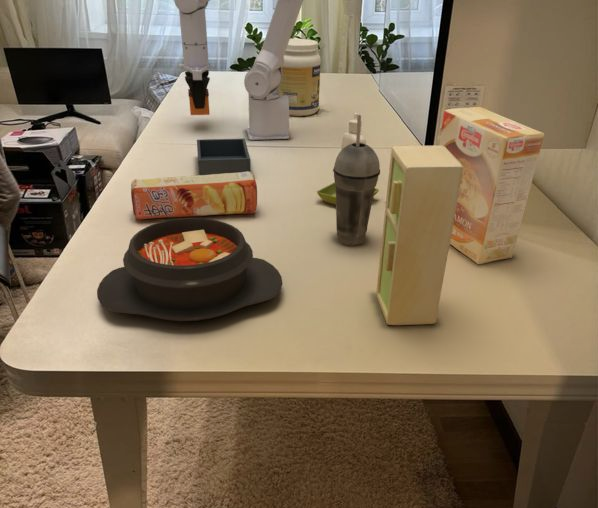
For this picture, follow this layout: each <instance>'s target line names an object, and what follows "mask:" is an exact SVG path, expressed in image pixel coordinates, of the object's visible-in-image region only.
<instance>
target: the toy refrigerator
mask: <svg viewBox="0 0 598 508" xmlns="http://www.w3.org/2000/svg"><path fill="white" fill-rule="evenodd" d="M388 168H389V169H388V179H387V187H386V196H385V198H386V199H385V206H384V207H385V209H384V217H383V225H382V227H383V228H382V235H381V243H380V254H379V262H378V274H377V283H376V291H375V292H376V293H375V296H376V299H377V301H378V304H379V307H380V310H381V312H382V315H383V317H384V320H385V323H386V325H388V326H410V325H411V326H412V325H433V324H436V322H437V317H438V312H439V306H440V301H441V295H442V294H441V293H442V289H443V285H444V284H443V283H444V278H445V272H446V267H447V262H448V255H449V250H450V246H451V244H450V239H451V234H452V228H453V223H454V217H455V212H456V206H457V200H458V195H459V189H460V183H461V178H462V172H463V167H462V165H461V163H460V162H459V161H458V160H457V159H456V158H455V157H454V156H453V155H452V154H451V153H450V152H449V151H448V150H447V148H446V147H444V146H439V145H394V146H392V147H391V150H390V159H389V167H388Z"/></svg>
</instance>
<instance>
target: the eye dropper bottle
mask: <svg viewBox="0 0 598 508" xmlns="http://www.w3.org/2000/svg"><path fill="white" fill-rule="evenodd" d="M358 115H359V113H357V112H354V113H353V116H352V119H350V120H348V131H345V132H344V133H343V135H342V140H341V150H342V149H343V148H344V147H346V146H347V145H349V144H352V143H356V136H357V118H358ZM361 124H362V120H361ZM360 143H363V144H366V145H367V142H366V138H365V135H363V133H362V125H361V126H360Z"/></svg>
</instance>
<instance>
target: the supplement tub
mask: <svg viewBox="0 0 598 508" xmlns="http://www.w3.org/2000/svg"><path fill="white" fill-rule="evenodd" d="M318 51H319V42H318V41H316V40H313V39H307V38H290V40H289V42H288V45H287V48H286V51H285V54H284V65H283V68H282V76H283V77H282V82H281V84H280V86H279V87H278V90H279V93H280V96H287V97H288V101H289V116H292V117H304V116H305V117H306V116H310V115H313V114H316V112H318V111H319V108H320V87H321V66H322V65H321V64H322V60H321V59H322V58H321V56H320V54H319V53H318Z"/></svg>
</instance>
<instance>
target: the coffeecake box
mask: <svg viewBox="0 0 598 508" xmlns="http://www.w3.org/2000/svg"><path fill="white" fill-rule="evenodd" d="M544 137H545V133H544V132H542V131H539V130H536V129H534V128H532V127H529V126H527V125H525V124H522V123H520V122H517V121H515V120H512V119H510V118H508V117H505V116H503V115H501V114H498V113H496V112H494V111H490V110H488V109H486V108H484V107H481V106H473V107H454V108H448V109H444V111H443V117H442V123H441V130H440V136H439V143H438V146H444V147H446V148H447V150H448V151H449V152H450V153H451V154H452V155H453V156H454V157H455V158H456V159H457V160H458V161H459V162H460V163H461V165H462V167H463V172H462V178H461V183H460V189H459V195H458V200H457V206H456V212H455V217H454V223H453V228H452V234H451V239H450V246H452V247H453V248H455V249H456V250H458V251H459V252H460V253H462V254H463V255H464V256H466V257H467V258H469V259H470V260H472V261H473V262H474V263H476V264H477V265H483V264H487V263H488V264H489V263H491V262H495V261H501V260H505V259H512V258H513V256H514V252H515V248H516V244H517V241H518V236H519V233H520V230H521V225H522V222H523V217H524V213H525V209H526V207H527V202H528V198H529V195H530V191H531V187H532V183H533V179H534V176H535V171H536V168H537V164H538V160H539V157H540V154H541V153H540V152H541V148H542V145H543V140H544Z"/></svg>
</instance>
